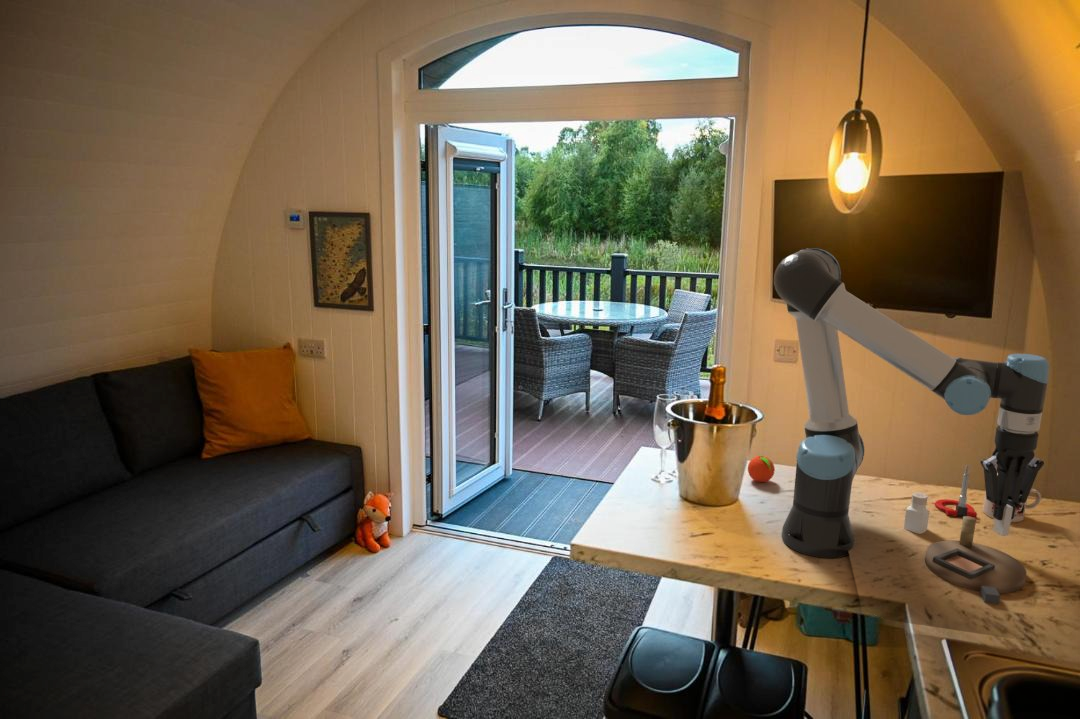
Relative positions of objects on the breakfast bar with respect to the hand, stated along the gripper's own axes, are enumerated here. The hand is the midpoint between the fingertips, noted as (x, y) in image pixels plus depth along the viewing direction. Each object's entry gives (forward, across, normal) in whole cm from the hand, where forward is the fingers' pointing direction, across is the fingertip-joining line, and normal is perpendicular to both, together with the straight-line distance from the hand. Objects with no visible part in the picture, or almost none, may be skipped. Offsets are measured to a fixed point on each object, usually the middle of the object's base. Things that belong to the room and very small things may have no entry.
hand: (1000, 532), depth 162 cm
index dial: (+4, -11, -7) cm, 13 cm away
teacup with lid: (+6, +17, +18) cm, 26 cm away
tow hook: (+6, +6, +23) cm, 25 cm away
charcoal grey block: (+6, -15, -18) cm, 24 cm away
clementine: (+6, -35, +44) cm, 57 cm away
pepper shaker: (+6, -12, +12) cm, 18 cm away
